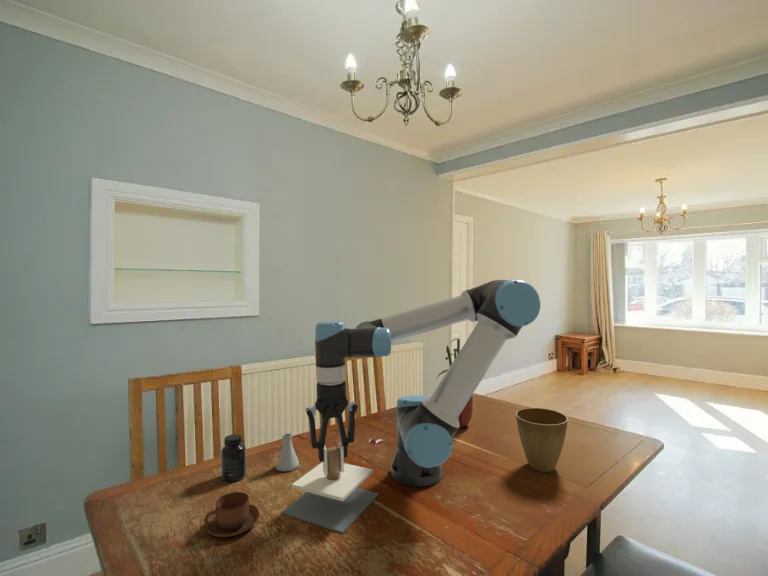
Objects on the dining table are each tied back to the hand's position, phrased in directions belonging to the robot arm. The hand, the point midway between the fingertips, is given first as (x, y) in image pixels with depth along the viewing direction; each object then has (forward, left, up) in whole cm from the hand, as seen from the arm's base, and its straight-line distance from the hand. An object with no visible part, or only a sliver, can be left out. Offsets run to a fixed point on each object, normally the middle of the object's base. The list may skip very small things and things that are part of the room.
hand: (333, 471), depth 101 cm
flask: (+24, -11, -9) cm, 28 cm away
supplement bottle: (+34, +1, -9) cm, 35 cm away
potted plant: (-12, -70, -9) cm, 71 cm away
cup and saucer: (+17, +18, -9) cm, 26 cm away
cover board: (0, 0, -2) cm, 2 cm away
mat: (0, 0, -8) cm, 9 cm away
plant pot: (-47, -45, -9) cm, 65 cm away
